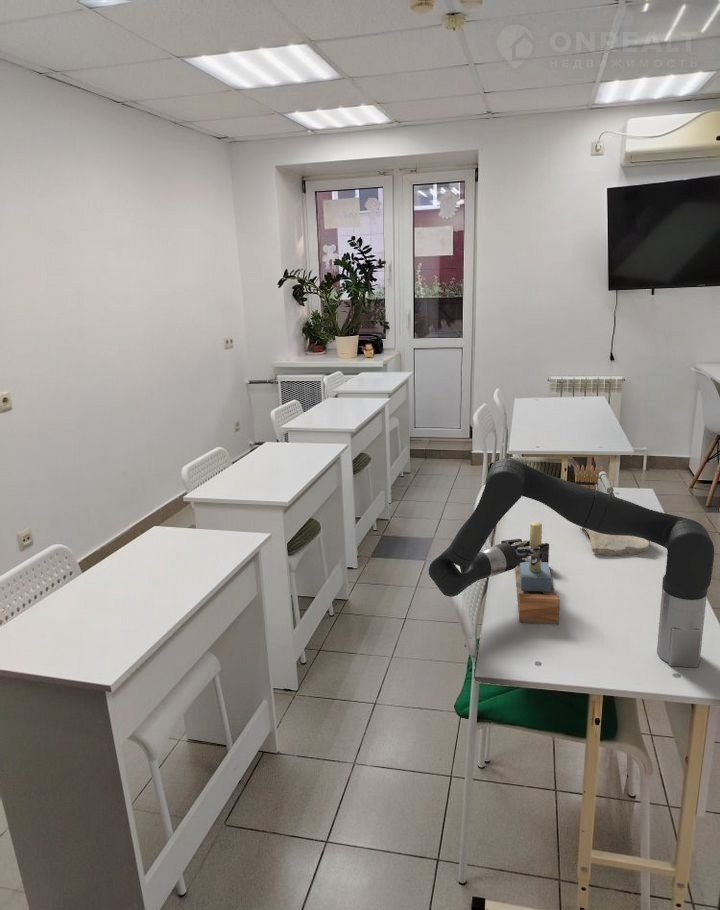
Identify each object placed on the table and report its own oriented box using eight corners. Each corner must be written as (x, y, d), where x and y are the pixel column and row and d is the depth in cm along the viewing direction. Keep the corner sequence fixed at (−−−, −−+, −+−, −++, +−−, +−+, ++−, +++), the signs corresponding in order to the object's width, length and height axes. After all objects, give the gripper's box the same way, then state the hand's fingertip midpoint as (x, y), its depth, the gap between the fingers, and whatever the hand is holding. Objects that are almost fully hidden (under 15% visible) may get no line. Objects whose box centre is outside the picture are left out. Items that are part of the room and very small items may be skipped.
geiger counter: (619, 488, 221) (607, 466, 244) (599, 488, 222) (590, 466, 245) (616, 526, 225) (605, 500, 248) (597, 525, 226) (588, 500, 249)
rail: (558, 624, 168) (559, 599, 165) (519, 623, 170) (519, 597, 167) (547, 565, 199) (548, 543, 197) (514, 564, 201) (514, 542, 199)
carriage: (550, 591, 179) (552, 531, 173) (521, 590, 180) (522, 531, 175) (547, 574, 188) (549, 517, 183) (519, 573, 190) (520, 517, 184)
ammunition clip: (602, 493, 255) (604, 464, 252) (602, 495, 254) (604, 466, 250) (574, 491, 259) (575, 463, 256) (574, 493, 257) (575, 465, 254)
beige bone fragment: (634, 528, 224) (575, 524, 227) (638, 509, 222) (578, 504, 224) (655, 562, 202) (589, 556, 204) (659, 541, 199) (593, 535, 201)
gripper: (514, 556, 167) (562, 540, 175) (479, 538, 179) (525, 524, 187) (513, 582, 170) (561, 565, 177) (479, 563, 181) (525, 547, 189)
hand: (542, 544), depth 182 cm, fingers closed on carriage, 3 cm apart
